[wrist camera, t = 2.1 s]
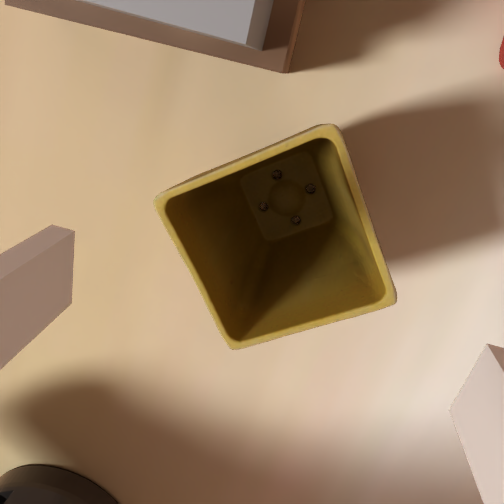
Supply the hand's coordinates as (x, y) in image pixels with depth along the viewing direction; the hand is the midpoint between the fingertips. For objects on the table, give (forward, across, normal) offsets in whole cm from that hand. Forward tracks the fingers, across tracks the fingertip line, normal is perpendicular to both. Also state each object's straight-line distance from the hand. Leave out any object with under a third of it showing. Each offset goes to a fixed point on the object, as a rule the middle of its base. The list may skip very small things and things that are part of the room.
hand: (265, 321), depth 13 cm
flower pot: (+15, 0, 0) cm, 15 cm away
